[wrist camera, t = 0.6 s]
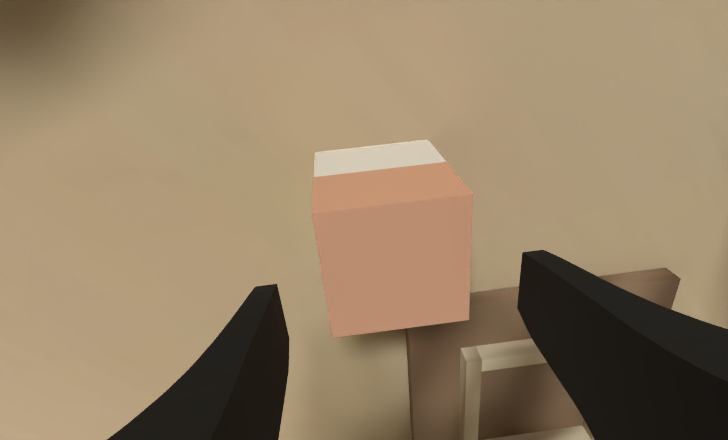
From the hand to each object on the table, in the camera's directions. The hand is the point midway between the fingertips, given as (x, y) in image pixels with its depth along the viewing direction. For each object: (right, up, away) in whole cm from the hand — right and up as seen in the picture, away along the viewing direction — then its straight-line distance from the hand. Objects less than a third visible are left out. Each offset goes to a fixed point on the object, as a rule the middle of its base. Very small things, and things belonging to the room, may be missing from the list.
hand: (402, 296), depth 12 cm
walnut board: (+9, -7, +13) cm, 17 cm away
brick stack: (-1, +3, +6) cm, 7 cm away
